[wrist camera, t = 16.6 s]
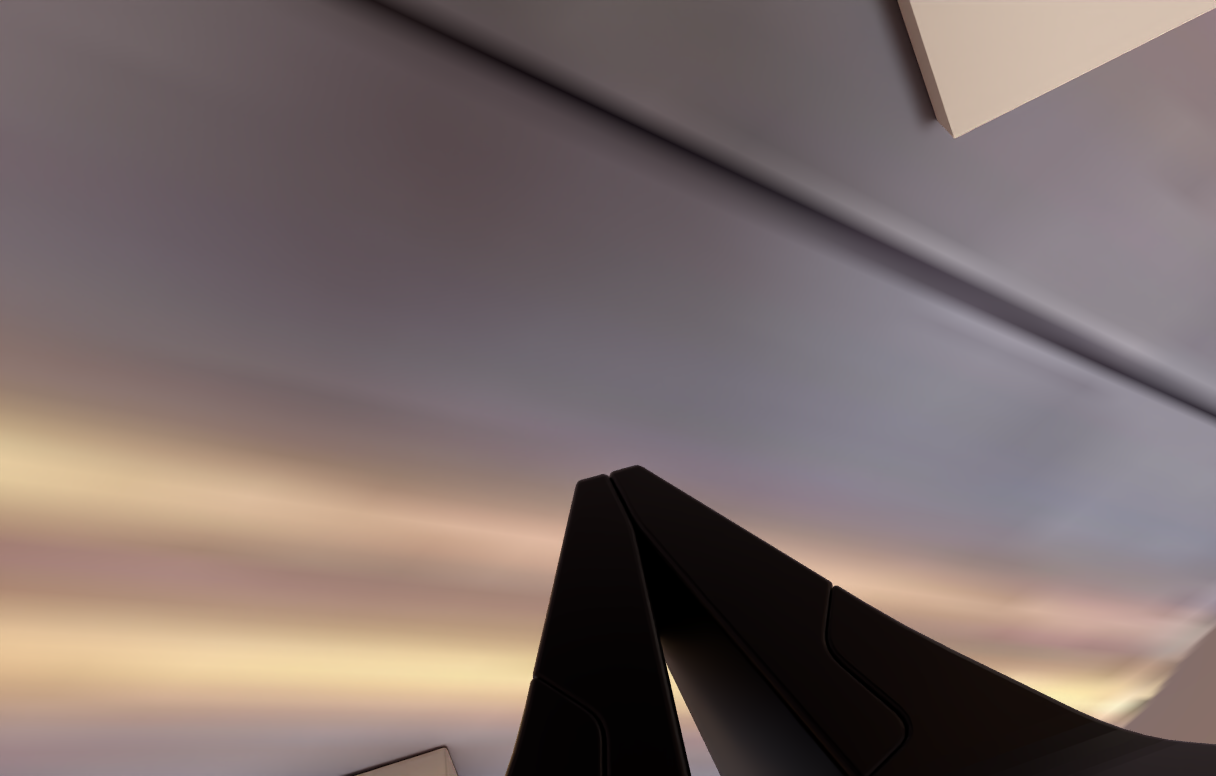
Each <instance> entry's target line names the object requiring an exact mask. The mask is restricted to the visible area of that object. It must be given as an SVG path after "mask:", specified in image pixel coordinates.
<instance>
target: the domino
mask: <svg viewBox="0 0 1216 776" xmlns="http://www.w3.org/2000/svg"><path fill="white" fill-rule="evenodd" d="M897 1H898V4H899V7H900V10H901V13H902V16H903V19H904V22H905V25H906V28H907V31H908V34H909V37H910V40H911V43H912V46H913V49H914V52H915V55H916V58H917V61H918V64H919V67H920V70H921V73H922V76H923V79H924V82H925V85H926V88H927V91H928V94H929V97H930V100H931V103H932V106H933V109H934V112H935V115H936V118H937V121H938V122H939V123H940V124H941V125H942V126H943V127H944V128H945V129H946V130H947V131H948V132H949V133H950V135H951V136H952V137H953V138H954V139H955V138H957V137H959V136H961V135H963V134H965V133H967V132H969V131H971V130H973V129H975V128H977V127H979V126H981V125H983V124H985V123H987V122H989V121H991V120H993V119H995V118H997V117H999V116H1001V115H1003V114H1005V113H1007V112H1009V111H1011V110H1013V109H1015V108H1017V107H1019V106H1021V105H1023V104H1025V103H1027V102H1029V101H1031V100H1033V99H1035V98H1037V97H1039V96H1041V95H1043V94H1045V93H1047V92H1049V91H1051V90H1053V89H1055V88H1057V87H1059V86H1060V85H1062V84H1064V83H1066V82H1068V81H1070V80H1072V79H1074V78H1076V77H1078V76H1080V75H1082V74H1084V73H1086V72H1088V71H1090V70H1092V69H1094V68H1096V67H1098V66H1100V65H1102V64H1104V63H1106V62H1108V61H1110V60H1112V59H1114V58H1116V57H1118V56H1120V55H1122V54H1124V53H1126V52H1128V51H1130V50H1132V49H1134V48H1136V47H1138V46H1140V45H1142V44H1144V43H1146V42H1148V41H1150V40H1152V39H1154V38H1156V37H1158V36H1160V35H1162V34H1164V33H1166V32H1168V31H1170V30H1172V29H1174V28H1176V27H1178V26H1180V25H1182V24H1184V23H1186V22H1188V21H1190V20H1192V19H1194V18H1196V17H1198V16H1200V15H1202V14H1204V13H1206V12H1208V11H1210V10H1212V9H1214V8H1216V0H897Z"/></svg>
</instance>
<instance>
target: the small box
mask: <svg viewBox="0 0 1216 776" xmlns="http://www.w3.org/2000/svg"><path fill="white" fill-rule="evenodd" d="M356 776H457V773H456V770H455V768H454V765H453V763H452V760H451V758H450V755H449V753H448V750H447V749H446V748H441V749H438V750H435V751H432V752H429V753H426V754H423V755H419V756H416V757H413V758H410V759H407V760H403V761H400V762H397V763H394V764H391V765H388V766H384V767H381V768H378V769H375V770H372V771H369V772H365V773H362V774H359V775H356Z"/></svg>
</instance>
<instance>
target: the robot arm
mask: <svg viewBox="0 0 1216 776" xmlns="http://www.w3.org/2000/svg"><path fill="white" fill-rule="evenodd" d="M665 661H666V662H665ZM666 663H667V666H668V668H669V670H670V672H671V674H672V676H673V678H674V680H675V682H676V684H677V686H678V688H679V690H680V693H681V695H682V697H683V699H684V701H685V703H686V705H687V707H688V709H689V711H690V713H691V715H692V717H693V719H694V722H695V724H696V726H697V728H698V730H699V732H700V734H701V736H702V738H703V740H704V742H705V744H706V746H707V748H708V751H709V753H710V755H711V757H712V759H713V761H714V763H715V765H716V767H717V769H718V771H719V773H720V775H721V776H1216V744H1205V743H1193V742H1183V741H1174V740H1167V739H1162V738H1157V737H1152V736H1147V735H1143V734H1140V733H1137V732H1133V731H1129V730H1126V729H1123V728H1120V727H1117V726H1114V725H1112V724H1109V723H1106V722H1104V721H1101V720H1098V719H1096V718H1094V717H1091V716H1089V715H1087V714H1085V713H1082V712H1080V711H1078V710H1076V709H1074V708H1072V707H1070V706H1067V705H1065V704H1063V703H1061V702H1059V701H1057V700H1055V699H1053V698H1051V697H1049V696H1047V695H1045V694H1043V693H1041V692H1039V691H1037V690H1035V689H1032V688H1030V687H1028V686H1026V685H1024V684H1022V683H1020V682H1018V681H1016V680H1014V679H1012V678H1010V677H1008V676H1006V675H1004V674H1002V673H1000V672H997V671H995V670H993V669H991V668H989V667H987V666H985V665H983V664H981V663H979V662H977V661H975V660H973V659H971V658H969V657H967V656H965V655H962V654H960V653H958V652H956V651H954V650H952V649H950V648H948V647H946V646H944V645H942V644H941V643H939V642H937V641H935V640H933V639H931V638H929V637H927V636H925V635H923V634H921V633H919V632H917V631H915V630H913V629H911V628H909V627H907V626H905V625H904V624H902V623H900V622H898V621H897V620H895V619H893V618H891V617H890V616H888V615H886V614H884V613H883V612H881V611H879V610H878V609H876V608H874V607H872V606H871V605H869V604H867V603H865V602H864V601H862V600H860V599H859V598H857V597H855V596H854V595H852V594H850V593H849V592H847V591H846V590H844V589H842V588H841V587H839V586H834V587H833V585H832V583H831V582H830V581H829V580H827V579H825V578H824V577H822V576H820V575H819V574H817V573H816V572H814V571H812V570H811V569H809V568H807V567H806V566H804V565H802V564H801V563H799V562H798V561H796V560H794V559H793V558H791V557H789V556H788V555H786V554H784V553H783V552H781V551H780V550H778V549H776V548H775V547H773V546H771V545H770V544H768V543H766V542H765V541H763V540H762V539H760V538H758V537H757V536H755V535H753V534H752V533H750V532H748V531H747V530H745V529H744V528H742V527H740V526H739V525H737V524H735V523H734V522H732V521H730V520H729V519H727V518H726V517H724V516H722V515H721V514H719V513H717V512H716V511H714V510H712V509H711V508H709V507H708V506H706V505H704V504H703V503H701V502H699V501H698V500H696V499H694V498H693V497H691V496H690V495H688V494H686V493H685V492H683V491H681V490H680V489H678V488H676V487H675V486H673V485H672V484H670V483H668V482H667V481H665V480H663V479H662V478H660V477H658V476H657V475H655V474H654V473H652V472H650V471H649V470H647V469H645V468H644V467H642V466H639V465H635V466H631V467H627V468H623V469H620V470H616V471H613V472H611V474H610V476H609V477H608V476H607V475H605V474H601V475H598V476H594V477H590V478H587V479H583V480H580V481H578V482H577V484H576V487H575V491H574V496H573V500H572V504H571V509H570V513H569V518H568V522H567V526H566V531H565V535H564V540H563V544H562V548H561V553H560V557H559V562H558V566H557V570H556V575H555V579H554V584H553V588H552V592H551V597H550V601H549V605H548V610H547V614H546V619H545V623H544V627H543V632H542V636H541V641H540V645H539V649H538V654H537V658H536V663H535V667H534V671H533V679H532V681H531V683H530V687H529V692H528V696H527V700H526V705H525V709H524V713H523V717H522V720H521V724H520V728H519V732H518V735H517V739H516V743H515V747H514V750H513V754H512V757H511V760H510V763H509V765H508V768H507V771H506V774H505V776H691V773H690V768H689V764H688V759H687V755H686V751H685V746H684V742H683V737H682V733H681V728H680V724H679V719H678V715H677V711H676V706H675V702H674V697H673V693H672V688H671V684H670V679H669V675H668V671H667V666H666Z"/></svg>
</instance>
